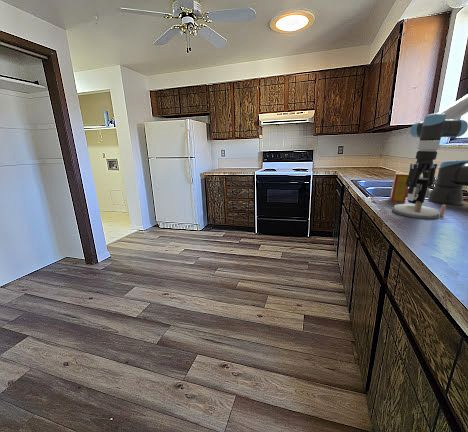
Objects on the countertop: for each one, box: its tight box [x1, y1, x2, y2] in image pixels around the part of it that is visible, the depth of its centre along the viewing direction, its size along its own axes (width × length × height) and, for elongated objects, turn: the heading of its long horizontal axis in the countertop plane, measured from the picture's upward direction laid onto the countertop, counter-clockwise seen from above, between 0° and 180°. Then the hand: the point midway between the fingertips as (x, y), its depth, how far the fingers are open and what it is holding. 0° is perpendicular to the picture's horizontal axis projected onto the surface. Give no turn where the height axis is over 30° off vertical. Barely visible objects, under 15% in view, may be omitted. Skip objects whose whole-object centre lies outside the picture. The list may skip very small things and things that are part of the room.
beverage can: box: [406, 176, 429, 205], centre depth 116 cm, size 7×7×12 cm
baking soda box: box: [389, 171, 409, 204], centre depth 138 cm, size 10×6×16 cm
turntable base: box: [392, 204, 447, 220], centre depth 114 cm, size 18×20×6 cm
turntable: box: [393, 201, 440, 217], centre depth 115 cm, size 17×17×5 cm
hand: (415, 199), depth 118 cm, fingers closed on beverage can, 6 cm apart
